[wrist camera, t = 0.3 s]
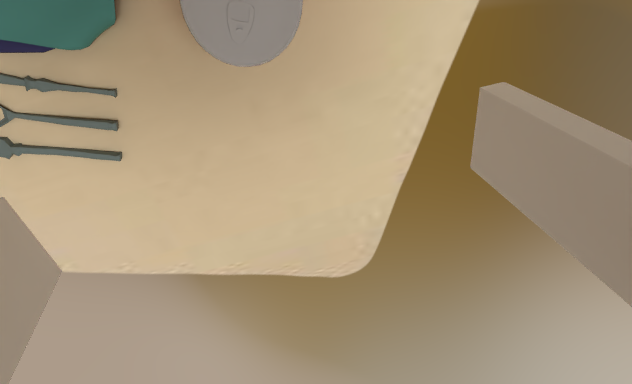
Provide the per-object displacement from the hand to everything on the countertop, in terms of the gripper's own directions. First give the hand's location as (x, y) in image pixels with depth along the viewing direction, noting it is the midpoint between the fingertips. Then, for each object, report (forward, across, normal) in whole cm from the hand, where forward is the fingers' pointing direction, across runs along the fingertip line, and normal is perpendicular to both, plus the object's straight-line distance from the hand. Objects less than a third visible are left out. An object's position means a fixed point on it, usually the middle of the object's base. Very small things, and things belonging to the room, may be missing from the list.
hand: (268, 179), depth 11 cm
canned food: (+28, +1, +3) cm, 28 cm away
